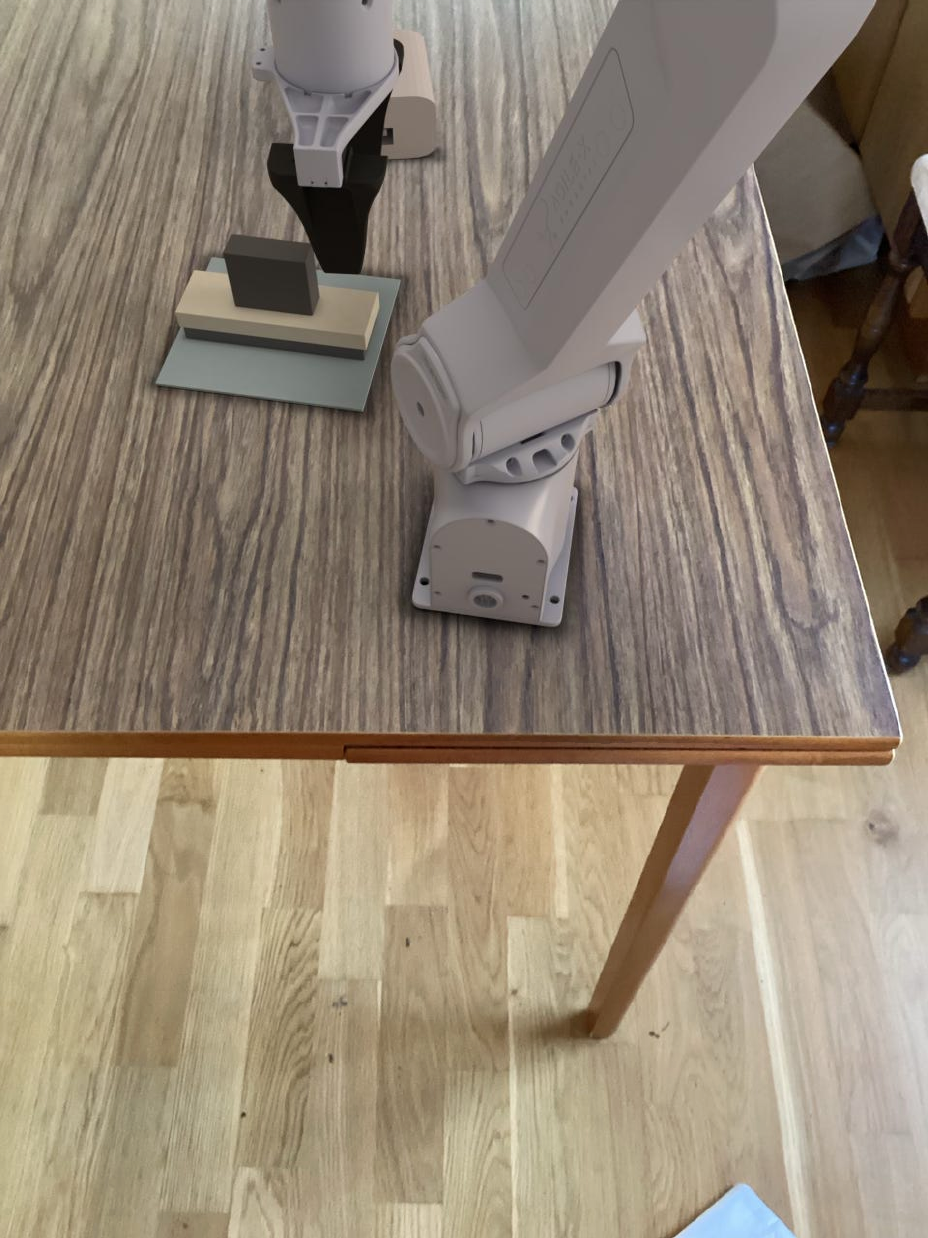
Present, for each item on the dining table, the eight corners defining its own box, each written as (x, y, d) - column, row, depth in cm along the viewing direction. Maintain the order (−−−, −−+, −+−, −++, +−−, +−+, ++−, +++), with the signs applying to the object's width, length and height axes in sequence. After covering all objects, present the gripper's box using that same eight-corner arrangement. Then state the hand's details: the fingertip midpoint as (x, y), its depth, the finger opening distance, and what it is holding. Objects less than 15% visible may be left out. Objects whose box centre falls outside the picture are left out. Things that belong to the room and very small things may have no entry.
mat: (362, 412, 62) (362, 409, 62) (156, 385, 63) (155, 382, 63) (400, 281, 68) (400, 279, 68) (212, 259, 69) (211, 256, 69)
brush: (367, 362, 64) (360, 282, 59) (182, 338, 65) (159, 257, 60) (380, 319, 66) (374, 237, 61) (200, 296, 67) (180, 214, 62)
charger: (418, 46, 84) (436, 157, 76) (305, 51, 83) (311, 163, 75) (417, -15, 80) (435, 95, 72) (298, -10, 79) (303, 101, 71)
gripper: (262, -118, 50) (297, 143, 61) (205, 44, 42) (257, 309, 53) (407, -112, 49) (415, 149, 61) (377, 51, 42) (393, 315, 53)
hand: (350, 224), depth 57 cm, fingers open, 7 cm apart
